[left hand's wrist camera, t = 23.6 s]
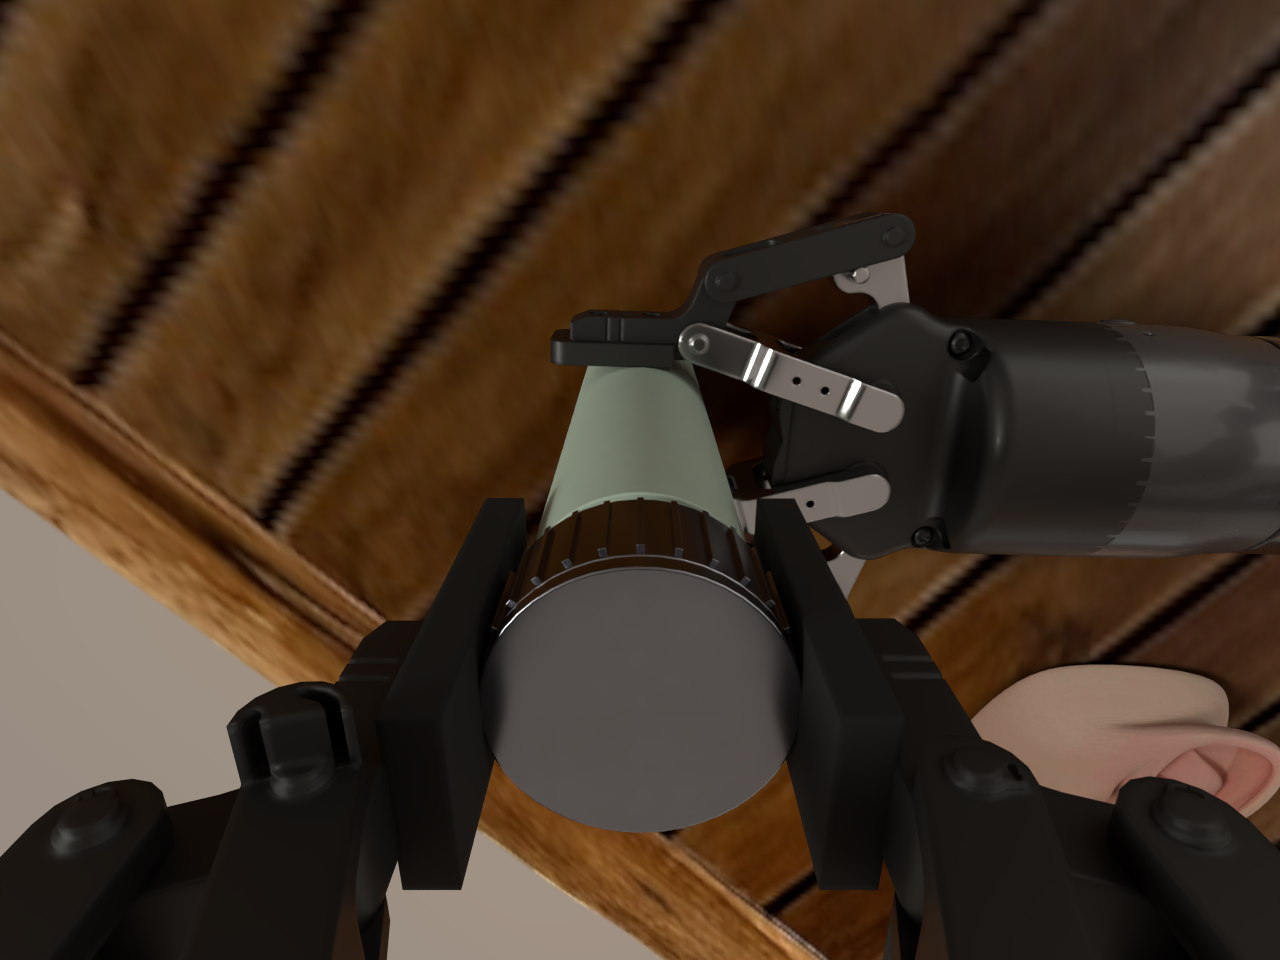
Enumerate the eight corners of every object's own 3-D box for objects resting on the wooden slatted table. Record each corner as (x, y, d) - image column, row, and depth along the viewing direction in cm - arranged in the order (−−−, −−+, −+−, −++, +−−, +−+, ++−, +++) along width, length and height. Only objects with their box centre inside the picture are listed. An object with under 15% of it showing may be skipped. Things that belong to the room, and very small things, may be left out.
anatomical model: (940, 881, 34) (1047, 685, 30) (911, 814, 38) (1002, 631, 34) (1196, 927, 35) (1332, 745, 31) (1143, 858, 39) (1258, 686, 35)
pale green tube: (588, 321, 29) (498, 541, 11) (697, 326, 29) (795, 553, 11) (586, 425, 30) (505, 773, 12) (689, 430, 30) (762, 782, 12)
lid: (507, 478, 12) (477, 544, 9) (804, 510, 12) (841, 581, 10) (495, 721, 13) (467, 823, 11) (753, 744, 14) (775, 849, 11)
